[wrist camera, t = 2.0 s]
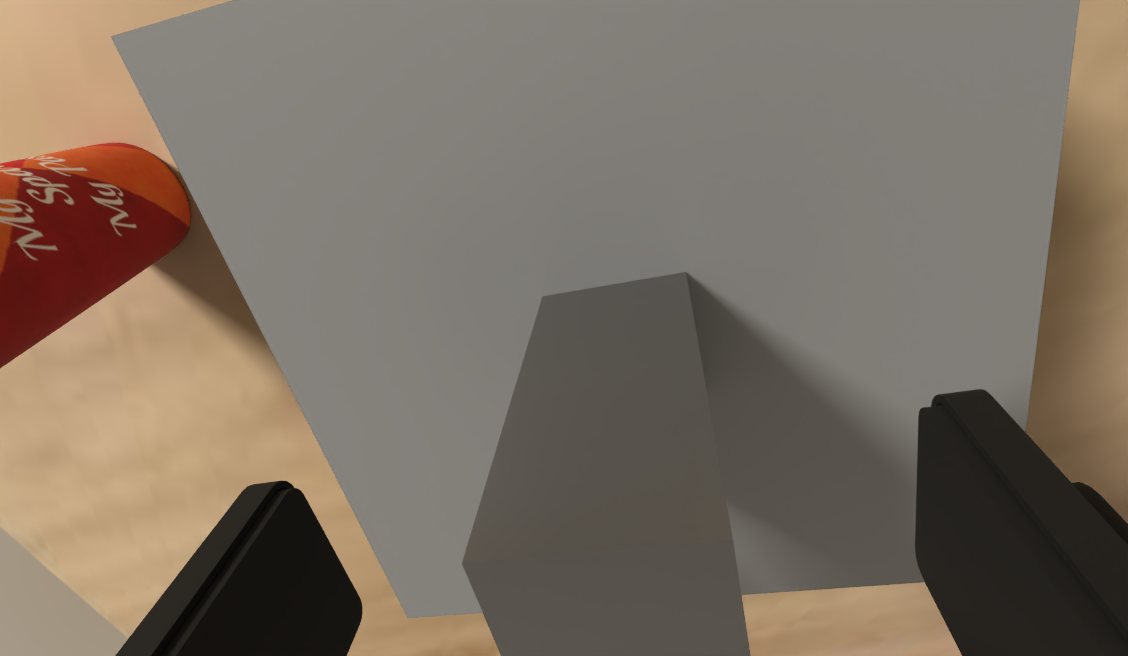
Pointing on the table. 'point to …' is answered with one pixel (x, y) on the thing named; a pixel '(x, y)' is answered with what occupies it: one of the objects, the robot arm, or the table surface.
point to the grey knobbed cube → (625, 278)
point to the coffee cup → (79, 233)
